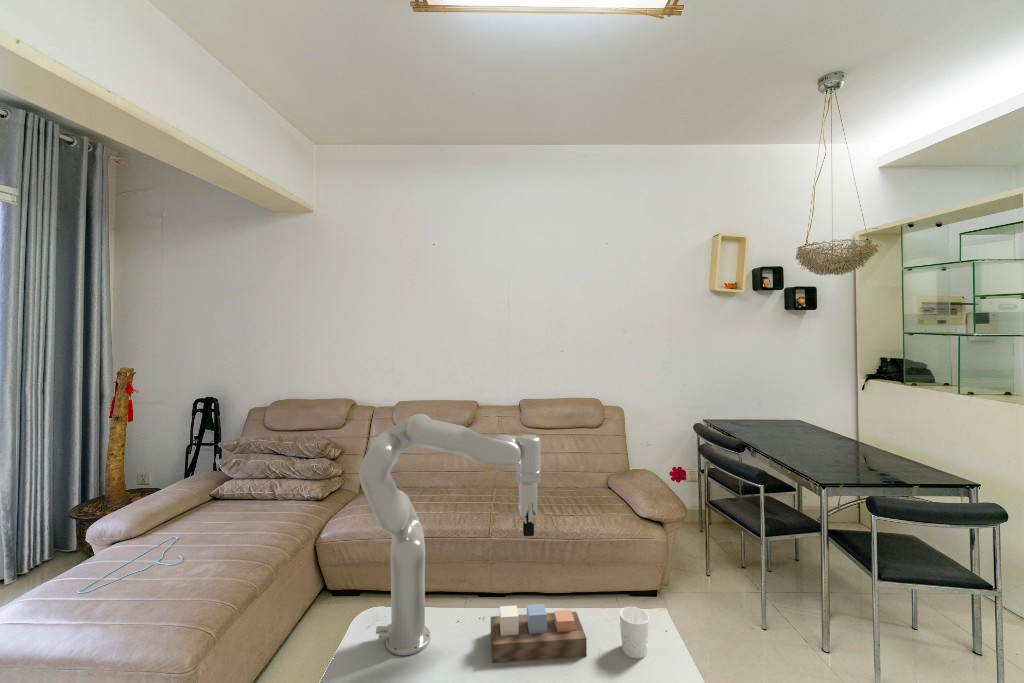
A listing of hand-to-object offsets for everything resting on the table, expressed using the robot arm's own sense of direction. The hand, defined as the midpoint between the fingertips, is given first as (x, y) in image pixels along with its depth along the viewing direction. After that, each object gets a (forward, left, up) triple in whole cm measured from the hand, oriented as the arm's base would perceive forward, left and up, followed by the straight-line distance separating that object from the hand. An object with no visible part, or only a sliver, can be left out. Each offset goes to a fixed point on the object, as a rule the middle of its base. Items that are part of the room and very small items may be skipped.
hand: (528, 534), depth 135 cm
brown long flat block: (+1, -10, -27) cm, 29 cm away
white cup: (+28, -15, -27) cm, 42 cm away
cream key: (-7, -10, -23) cm, 26 cm away
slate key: (+1, -10, -23) cm, 25 cm away
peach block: (+9, -10, -25) cm, 29 cm away
